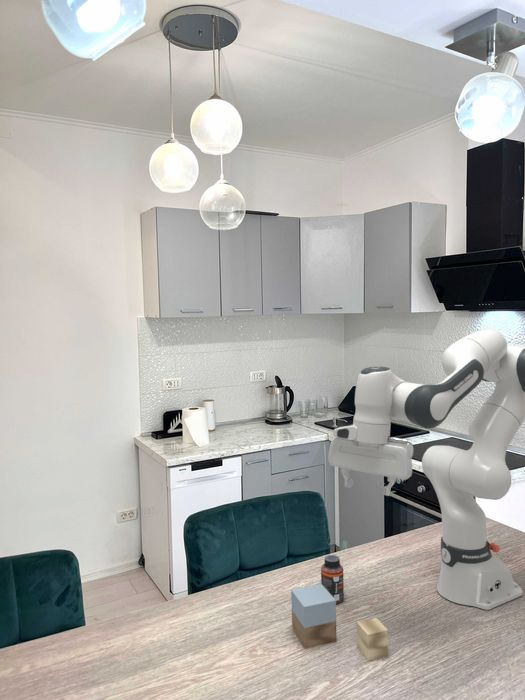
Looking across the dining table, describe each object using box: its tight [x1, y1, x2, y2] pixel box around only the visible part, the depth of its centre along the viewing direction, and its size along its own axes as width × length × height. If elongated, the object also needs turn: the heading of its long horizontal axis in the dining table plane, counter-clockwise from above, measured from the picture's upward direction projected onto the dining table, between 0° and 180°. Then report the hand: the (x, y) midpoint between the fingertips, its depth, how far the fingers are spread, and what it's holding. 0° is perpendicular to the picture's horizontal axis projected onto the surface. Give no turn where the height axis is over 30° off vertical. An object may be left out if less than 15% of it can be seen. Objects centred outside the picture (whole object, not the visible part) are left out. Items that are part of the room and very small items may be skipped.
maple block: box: [356, 617, 389, 662], centre depth 116 cm, size 5×5×6 cm
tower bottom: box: [291, 610, 338, 650], centre depth 123 cm, size 8×8×5 cm
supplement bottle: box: [320, 554, 345, 605], centre depth 138 cm, size 6×6×11 cm
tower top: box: [290, 583, 337, 628], centre depth 123 cm, size 8×8×5 cm
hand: (367, 490), depth 125 cm, fingers open, 8 cm apart
